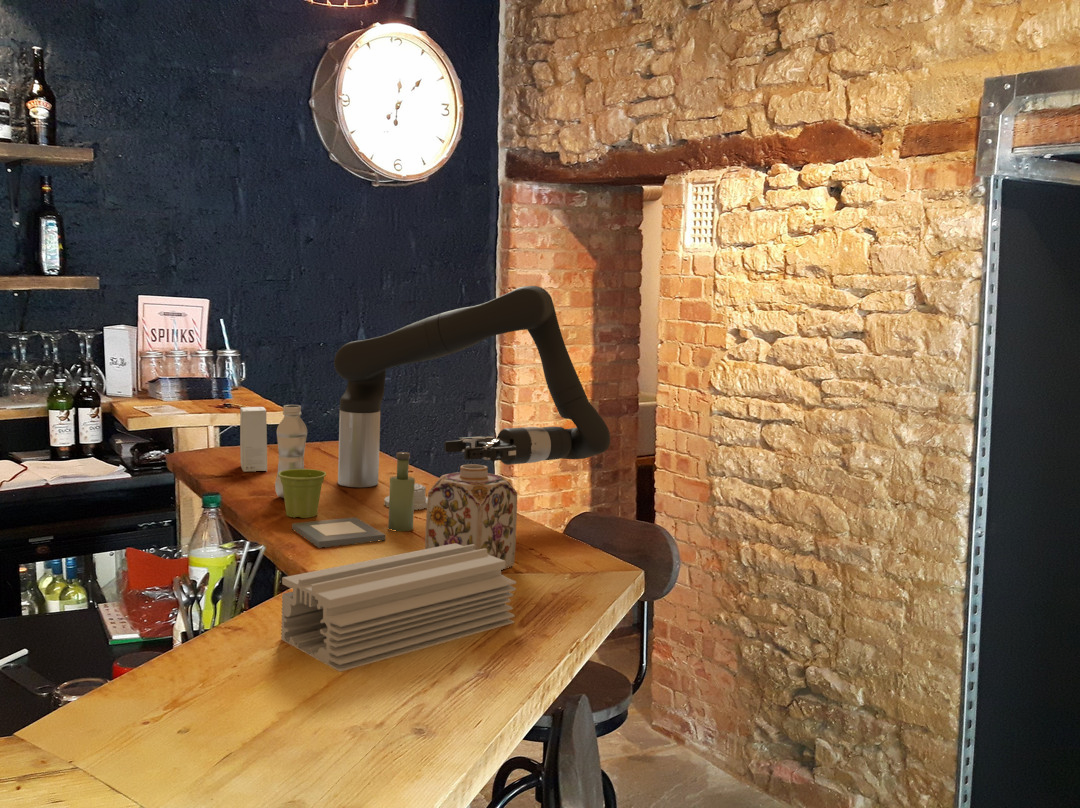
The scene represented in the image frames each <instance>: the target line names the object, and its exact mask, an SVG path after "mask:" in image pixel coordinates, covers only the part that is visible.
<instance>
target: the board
mask: <svg viewBox="0 0 1080 808" xmlns="http://www.w3.org/2000/svg"><path fill="white" fill-rule="evenodd" d="M291 523H292V522H291ZM292 529H293V530H292ZM291 530H292V531H294V530H295V531H296V532H297V533H296V532H295V531H294V532H295V533H296V534H298V533H299V534H300V535H299V534H298V535H299V536H301V535H302V536H303V537H302V536H301V537H302V538H304V537H305V538H306V539H307V540H306V539H305V538H304V539H305V540H306V541H308V540H309V541H310V543H311V544H312V543H313V544H312V545H314V546H315V547H316V546H317V548H318V549H323V548H322V547H325V548H331V546H334V547H340V546H339V545H343V546H349V545H348V544H352V545H356V544H355V543H361V544H364V543H363V542H370V541H378V540H385V541H386V534H385V533H383V532H382V531H380V530H378V529H377V528H375V527H373V526H372V525H369V524H368V523H366V522H364V521H363V520H361V519H359V518H358V517H356V516H354V517H345V518H334V519H323V520H314V521H303V522H294V523H292V524H291ZM309 541H308V542H309ZM370 543H371V542H370Z"/></svg>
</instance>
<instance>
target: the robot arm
mask: <svg viewBox="0 0 1080 808" xmlns="http://www.w3.org/2000/svg"><path fill="white" fill-rule="evenodd" d="M525 330H526V331H527V332H528V334H530V337H531V338H532V340H533V342H534V344H535V347H536V349H537V352H538V354H539V357H540V361H541V366H542V370H543V371H542V372H543V375H544V379H545V382H546V383H545V384H546V386H547V388H548V389H547V390H548V391H549V393H550V396H551V399H552V401H553V403H554V405H555V407H556V409H557V412H558V414H559V416H560V417H561V418H562V419H564V420H570V421H571V422H572V423H573V424H574V426H575V427H572V428H564V427H562V426H544V427H543V426H541V427H539V426H538V427H537V426H526V427H525V426H523V427H508V428H507V427H506V428H502V429H501V430H500V431H499V432H498V434H497V437H496V438H495V437H494V436H484V435H480V436H467V437H466V436H464V437H463V436H461V437H459V438H458V440H447V441H446V440H445V441H444V445H443V451H444V452H445V453H456V452H457V453H458V452H459V453H464V454H463V456H464V459H465V460H469V461H470V460H481V459H483V460H485V461H487V460H489V461H491V462H495V461H496V462H497V461H500V462H501V463H502V464H504V465H506V466H509V465H521V464H531V463H538V462H542V461H543V462H544V461H552V460H554V461H555V460H561V459H562V460H583V459H587V458H591V457H594V456H597V455H601V454H604V453H605V452H606V451H608V449H609V448H610V445H611V433H610V430H609V428H608V425H607V423H606V422H605V420H604V419H603V418H602V417H601V415H600V414H599V413H598V411H597V410H596V408H595V407H594V406H593V405H592V403H591V402H590V400H589V399H588V396H587V395H586V394H587V393H586V392H585V389H584V387H583V385H582V382H581V380H580V377H579V375H578V374H577V371H576V368H575V367H574V365H573V362H572V359H571V357H570V355H569V351H568V349H567V346H566V344H565V341H564V338H563V335H562V331H561V328H560V325H559V320H558V317H557V312H556V308H555V305H554V301H553V299H552V296H551V295H550V293H549V292H548V291H547V290H546V289H544V288H543V287H540V286H538V285H525V286H520V287H517V288H515V289H513V290H510V291H509V292H506V293H505V294H502V295H500V296H499V297H495V298H494V299H491V300H489V301H487V302H483V303H480V304H476V305H474V306H473V305H472V306H467V307H460V308H456V309H453V310H452V309H451V310H448V311H445V312H441V313H438V314H435V315H432V316H428V317H426V318H423V319H420V320H419V321H418V320H417V321H416V322H413V323H412V322H411V324H408V325H405V326H403V327H401V328H399V329H396V330H394V331H391V332H389V333H386V334H384V335H381V336H376V337H372V338H369V339H361V340H355V341H350V342H347V343H345V344H343V345H342V346H341V347H340V348H339V349H338V350H337V352H336V354H335V356H334V360H333V366H334V369H335V371H336V373H337V374H338V376H340V377H341V378H342V379H343V380H346V381H347V385H346V388H345V392H344V393H343V394H342V396H340V400H339V422H338V426H339V427H338V428H339V429H338V467H337V484H338V485H340V486H341V487H348V488H368V487H369V488H370V487H375V486H377V485H378V484H379V470H380V469H379V466H380V439H381V438H380V437H381V433H380V432H381V431H380V430H381V406H382V405H381V404H382V401H383V399H384V395H385V388H386V387H385V385H386V374H387V373H386V372H387V371H386V370H388V369H391V368H394V367H398V366H403V365H409V364H413V363H414V364H415V363H421V362H425V361H426V362H427V361H430V360H435V359H439V358H444V357H446V356H449V355H452V354H456V353H458V352H461V351H464V350H466V349H468V348H471V347H472V346H474V345H476V344H478V343H480V342H482V341H485V340H486V339H488V338H491V337H494V336H498V335H503V334H507V333H512V332H517V331H525ZM467 443H468V446H467Z"/></svg>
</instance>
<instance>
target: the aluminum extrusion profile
mask: <svg viewBox="0 0 1080 808" xmlns="http://www.w3.org/2000/svg"><path fill="white" fill-rule="evenodd" d="M473 546H475V545H474V544H472V545H467V546H462V545H459V544H456V543H454V544H449V545H444V546H439V547H434V548H429V549H425V548H424V549H419V550H415V551H410V552H404V553H398V554H394V555H390V556H385V557H380V558H375V559H374V558H373V559H369V560H364V561H360V562H358V561H357V562H355V563H348V564H344V565H338V566H334V567H329V568H323V569H318V570H314V571H309V572H304V573H298V574H292V575H289V576H283V577H282V578H281V581H282V583H281V584H282V585H283V586H285V587H287V588H290V589H292V591H289V592H284V593H282V595H281V599H282V600H281V603H282V604H281V606H282V607H281V626H280V627H281V629H280V630H281V633H280V635H281V637H280V638H281V641H283V642H285V643H286V644H288V645H290V646H291V647H294V648H296V649H298V650H299V651H301V652H303V653H305V654H306V655H308V656H310V657H312V658H314V659H316V660H318V661H319V662H321V663H323V664H325V665H327V666H328V667H330V668H332V669H334V670H336V671H338V672H344V671H349V670H352V669H354V668H358V667H362V666H365V665H369V664H372V663H375V662H376V663H377V662H380V661H383V660H387V659H391V658H393V657H397V656H400V655H405V654H408V653H412V652H414V651H415V652H416V651H420V650H423V649H425V648H429V647H433V646H436V645H440V644H444V643H448V642H450V641H454V640H458V639H461V638H465V637H468V636H472V635H476V634H478V633H482V632H486V631H489V630H494V629H498V628H500V627H505V626H507V625H511V624H514V623H515V621H514V620H512V619H511V618H515V614H514V613H511V612H509V611H510V610H514V609H513V606H511V605H509V604H507V603H511V599H510V597H511V598H512V597H513V596H514V593H512V592H513V591H514V592H515V591H516V590H517V588H516V587H514V586H512V585H516V584H517V580H514V579H512V578H509V577H507V576H505V575H503V574H502V571H501V569H505V560H502V559H499V558H496V557H493V556H490V555H488V553H487V549H486V548H484V549H479V550H473Z"/></svg>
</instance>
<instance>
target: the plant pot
mask: <svg viewBox="0 0 1080 808" xmlns="http://www.w3.org/2000/svg"><path fill="white" fill-rule="evenodd" d="M278 476H279V477H280V479H281V483H282V485H283V493H284V498H283V500H284V507H285V515H286V517H290V518H292V517H293V519H294V518H295V519H296V518H297V517H298V518H301V519H308V518H313V517H316V516H317V515H318V511H319V505H320V496H321V491H322V484H323V483H324V480H325V477H326V476H327V472H326V471H324V470H320V469H319V470H318V469H313V468H312V469H311V468H304V469H291V470H284V471H281V472H279V473H278Z"/></svg>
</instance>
